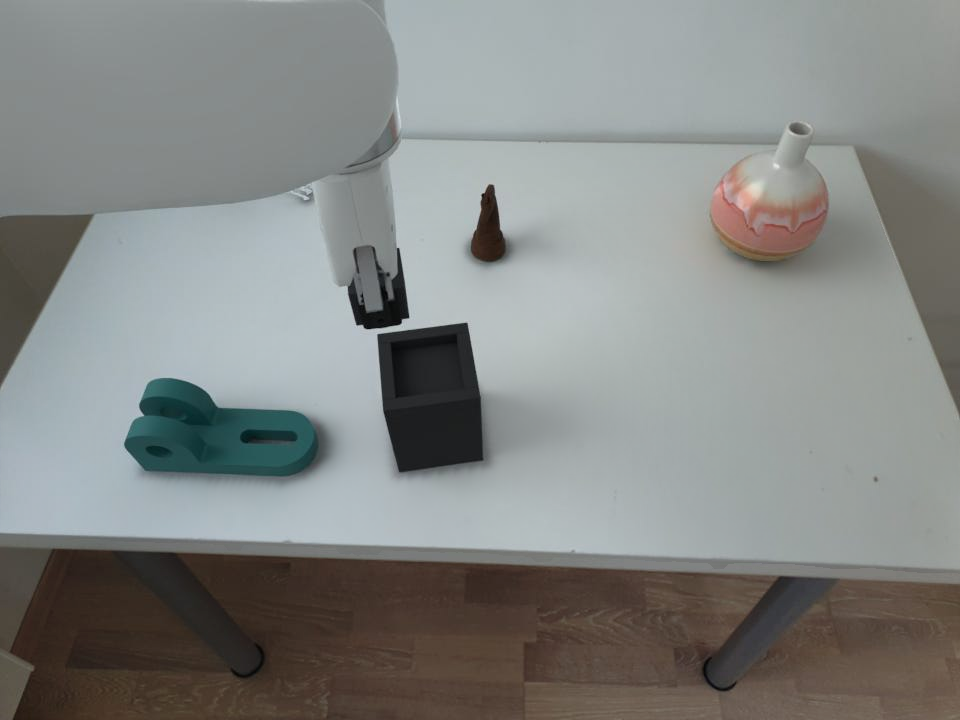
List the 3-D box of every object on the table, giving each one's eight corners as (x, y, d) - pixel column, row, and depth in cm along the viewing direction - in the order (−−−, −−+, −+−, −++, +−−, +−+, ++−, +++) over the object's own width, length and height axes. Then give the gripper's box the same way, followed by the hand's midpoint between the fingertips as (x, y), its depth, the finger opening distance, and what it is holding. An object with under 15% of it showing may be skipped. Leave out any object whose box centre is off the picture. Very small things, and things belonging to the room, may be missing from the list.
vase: (701, 275, 90) (740, 162, 75) (699, 201, 97) (734, 87, 83) (814, 286, 88) (875, 173, 74) (802, 210, 96) (856, 96, 82)
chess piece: (466, 258, 92) (463, 200, 84) (477, 231, 95) (475, 172, 87) (500, 265, 91) (500, 206, 83) (510, 237, 94) (511, 178, 86)
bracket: (145, 470, 75) (112, 434, 69) (165, 416, 79) (135, 376, 73) (311, 477, 74) (293, 441, 68) (323, 422, 78) (307, 382, 72)
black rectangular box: (399, 472, 75) (383, 411, 64) (392, 401, 80) (376, 333, 70) (483, 460, 75) (480, 397, 65) (471, 390, 80) (467, 321, 70)
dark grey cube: (356, 326, 59) (347, 294, 56) (353, 286, 62) (345, 254, 59) (409, 318, 60) (404, 287, 56) (404, 279, 62) (399, 247, 59)
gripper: (283, 52, 50) (333, 237, 65) (283, 215, 41) (341, 388, 56) (388, 41, 51) (414, 227, 66) (413, 199, 41) (436, 375, 56)
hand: (380, 299), depth 60 cm, fingers closed on dark grey cube, 4 cm apart
